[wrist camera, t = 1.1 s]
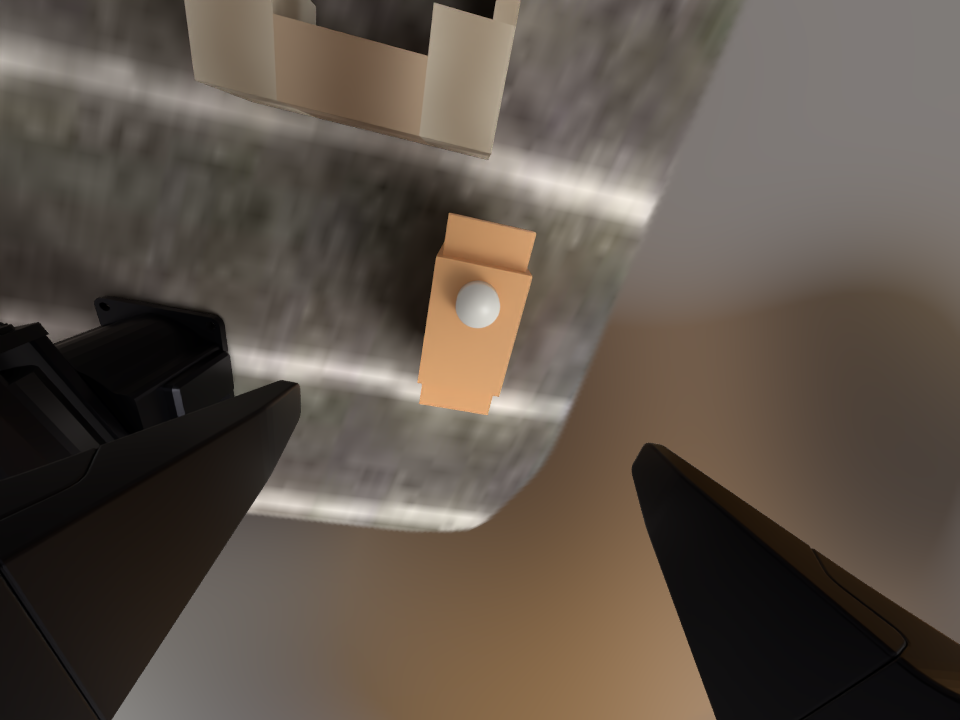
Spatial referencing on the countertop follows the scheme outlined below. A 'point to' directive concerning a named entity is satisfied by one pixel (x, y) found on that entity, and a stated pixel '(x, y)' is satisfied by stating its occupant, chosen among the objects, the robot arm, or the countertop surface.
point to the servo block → (474, 312)
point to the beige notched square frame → (360, 69)
